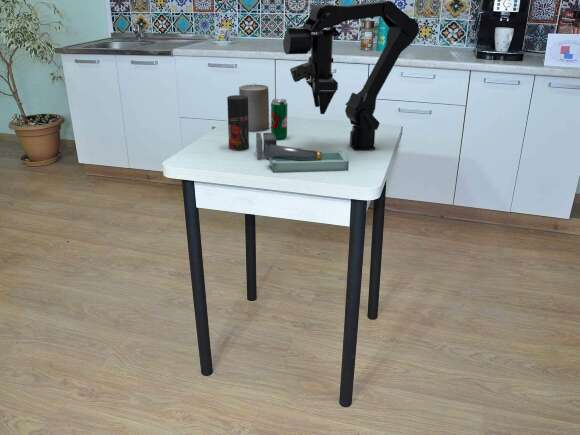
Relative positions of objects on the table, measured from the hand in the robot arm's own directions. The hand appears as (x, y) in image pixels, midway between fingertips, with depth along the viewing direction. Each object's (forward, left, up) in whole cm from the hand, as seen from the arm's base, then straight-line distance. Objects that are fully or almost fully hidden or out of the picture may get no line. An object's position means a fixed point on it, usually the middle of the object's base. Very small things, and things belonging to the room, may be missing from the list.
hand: (319, 110), depth 156 cm
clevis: (+16, +3, -12) cm, 20 cm away
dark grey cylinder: (+9, +13, -10) cm, 19 cm away
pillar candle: (+17, -28, -12) cm, 35 cm away
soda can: (+10, -15, -12) cm, 22 cm away
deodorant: (+23, -5, -12) cm, 27 cm away
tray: (+5, +13, -12) cm, 19 cm away
